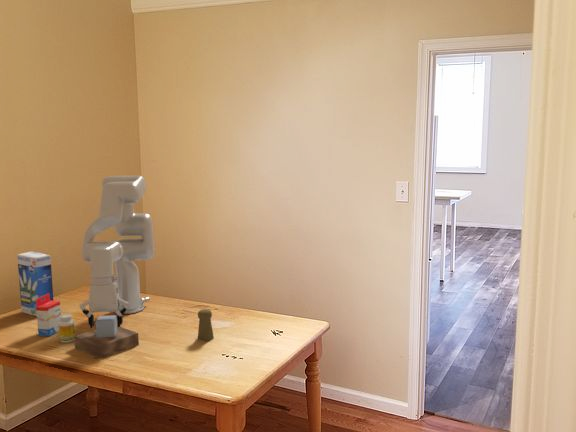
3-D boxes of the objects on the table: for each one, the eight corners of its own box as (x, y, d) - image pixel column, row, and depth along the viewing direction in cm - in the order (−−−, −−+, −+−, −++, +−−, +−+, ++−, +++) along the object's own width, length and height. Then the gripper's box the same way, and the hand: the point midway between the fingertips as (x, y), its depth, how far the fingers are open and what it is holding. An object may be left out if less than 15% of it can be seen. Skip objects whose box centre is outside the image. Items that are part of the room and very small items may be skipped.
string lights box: (21, 312, 247) (16, 254, 243) (36, 307, 253) (32, 251, 250) (40, 317, 240) (35, 257, 236) (55, 312, 247) (51, 254, 243)
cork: (200, 342, 210) (199, 313, 209) (195, 337, 216) (194, 309, 214) (216, 339, 213) (215, 311, 211) (210, 334, 218) (209, 306, 217)
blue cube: (117, 330, 210) (116, 315, 209) (113, 336, 204) (112, 320, 203) (100, 331, 210) (99, 316, 209) (96, 337, 204) (95, 321, 203)
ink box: (49, 336, 218) (46, 299, 215) (38, 336, 218) (35, 299, 216) (62, 329, 226) (59, 293, 224) (51, 328, 227) (48, 292, 225)
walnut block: (113, 336, 219) (112, 324, 218) (138, 346, 209) (138, 333, 208) (75, 349, 206) (74, 336, 206) (100, 360, 196) (99, 346, 196)
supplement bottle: (59, 339, 215) (57, 314, 214) (74, 336, 217) (72, 312, 216) (60, 344, 210) (58, 319, 209) (76, 341, 213) (74, 316, 211)
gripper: (129, 276, 208) (132, 321, 211) (81, 278, 207) (84, 323, 209) (125, 282, 201) (128, 328, 203) (75, 284, 199) (78, 330, 202)
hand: (105, 326), depth 206 cm, fingers open, 9 cm apart
